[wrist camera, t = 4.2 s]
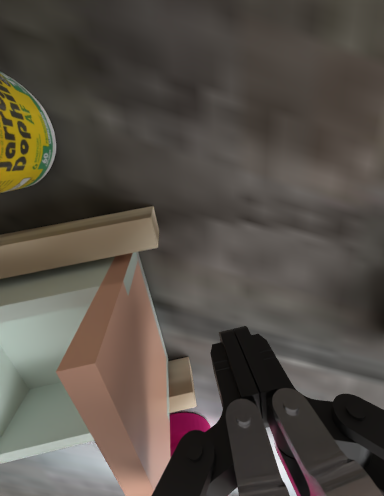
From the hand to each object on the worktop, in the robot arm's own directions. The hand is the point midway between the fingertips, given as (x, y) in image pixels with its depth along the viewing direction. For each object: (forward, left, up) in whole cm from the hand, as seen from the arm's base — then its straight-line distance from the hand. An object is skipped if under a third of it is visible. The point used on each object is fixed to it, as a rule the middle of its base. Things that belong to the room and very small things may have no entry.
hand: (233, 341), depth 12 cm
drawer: (0, -10, -4) cm, 11 cm away
